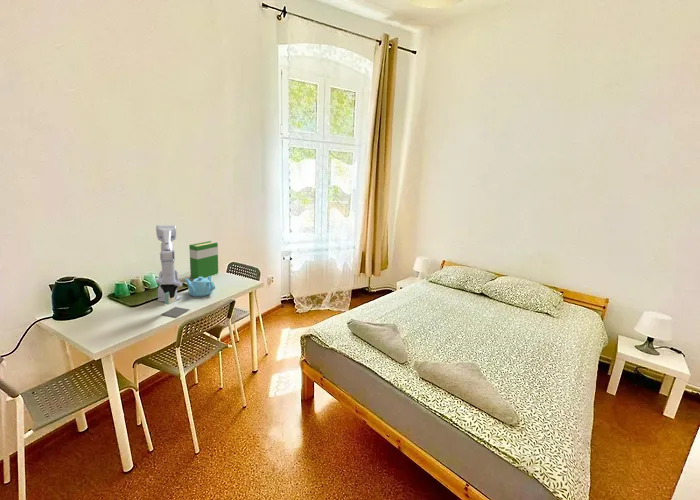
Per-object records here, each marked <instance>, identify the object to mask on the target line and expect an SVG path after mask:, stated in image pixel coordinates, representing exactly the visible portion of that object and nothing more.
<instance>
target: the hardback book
mask: <svg viewBox="0 0 700 500" xmlns="http://www.w3.org/2000/svg"><path fill="white" fill-rule="evenodd" d="M188 246H189V247H188V248H189V249H188V250H189V269H190V279H192V280H194V279H196V278H198V277H203V278H208V276H211V277H212V275H213V276H216V275H218V274H219V250H218V249H219V247H218V246H219V245H218V242H212V241H211V240H208V241H205V242H204V241H203V242H198V243H194V244H189V245H188ZM217 273H218V274H217ZM215 274H216V275H215Z"/></svg>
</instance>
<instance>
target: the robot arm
mask: <svg viewBox="0 0 700 500" xmlns="http://www.w3.org/2000/svg"><path fill="white" fill-rule="evenodd" d="M155 231H156V233H155V234H156V238H157V241H160V242H161V244H160V252H159V255H160V256H159V257H160V259H159V260H160V264H161V265H160V266H161V270H160V271H159V273H158V276H159V277H158V278H156V279H155V283H156V284H159V286H158V288H157V296H158V299H157V301H159V302H164V303H165V293H167V292H169V294H170V298H173V297H174V295H175V302H176V301H177V300H180V299H181V296H178V287H179V288H180V287H183V281H180V277H179V272H178V270H176V269H175V260H176V255H175V250H174V243H173V241H175V240H176V238H177V227H176V225H175V224H171V225H170V224H166V225H165V224H163V225H161V224H157V225H155Z"/></svg>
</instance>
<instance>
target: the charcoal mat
mask: <svg viewBox="0 0 700 500" xmlns="http://www.w3.org/2000/svg"><path fill="white" fill-rule="evenodd" d="M189 311H190V308H183V307H178V306H174V307H172V308H171V309H169V310H166V311H165V312H163V313H160V314H161V316H165V317H172V318H178V317H180V316H182V315H183V314H185V313H187V312H189Z"/></svg>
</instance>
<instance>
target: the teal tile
mask: <svg viewBox="0 0 700 500" xmlns="http://www.w3.org/2000/svg"><path fill="white" fill-rule="evenodd" d="M175 302H176V301H175V295H174V297H173V298H170V294H169V292H167V293H165V302H164V304H165V305H171V304H173V303H175Z"/></svg>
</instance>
